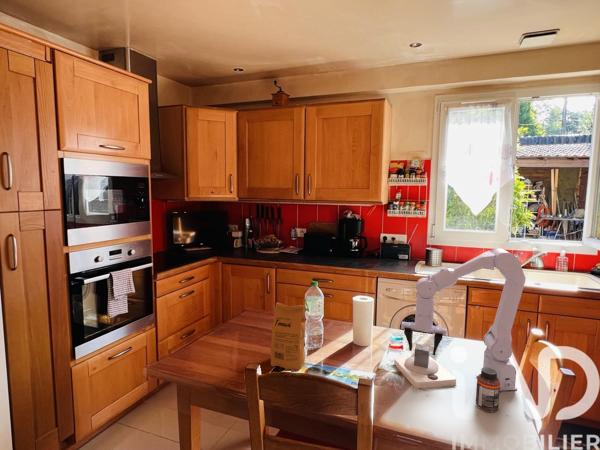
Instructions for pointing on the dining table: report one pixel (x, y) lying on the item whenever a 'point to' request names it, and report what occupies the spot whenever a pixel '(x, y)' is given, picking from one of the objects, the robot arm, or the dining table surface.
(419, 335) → the dining table surface
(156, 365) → the dining table surface
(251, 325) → the dining table surface
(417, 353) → the steel spacer
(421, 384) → the kitchen scale
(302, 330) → the coffee package
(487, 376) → the supplement bottle
